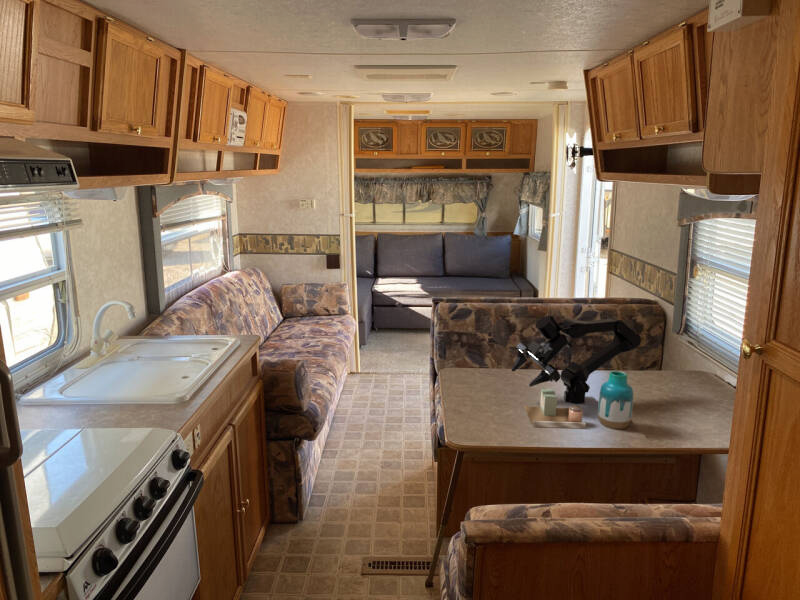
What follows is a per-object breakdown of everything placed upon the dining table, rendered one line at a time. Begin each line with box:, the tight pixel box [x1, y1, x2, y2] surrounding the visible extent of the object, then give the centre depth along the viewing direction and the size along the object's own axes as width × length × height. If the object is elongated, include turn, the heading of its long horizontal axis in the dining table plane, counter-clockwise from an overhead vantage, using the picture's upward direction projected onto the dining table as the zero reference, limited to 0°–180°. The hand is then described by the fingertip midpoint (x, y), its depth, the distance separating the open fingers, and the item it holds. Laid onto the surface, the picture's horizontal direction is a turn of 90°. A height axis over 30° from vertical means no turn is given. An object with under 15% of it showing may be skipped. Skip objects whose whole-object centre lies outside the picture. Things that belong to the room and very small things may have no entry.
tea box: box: [539, 388, 558, 416], centre depth 201 cm, size 7×4×7 cm, turn 178°
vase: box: [597, 370, 634, 430], centre depth 191 cm, size 11×11×19 cm
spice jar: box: [568, 404, 584, 422], centre depth 192 cm, size 4×4×6 cm
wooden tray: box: [523, 406, 587, 430], centre depth 198 cm, size 17×17×3 cm
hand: (520, 378), depth 203 cm, fingers open, 9 cm apart
